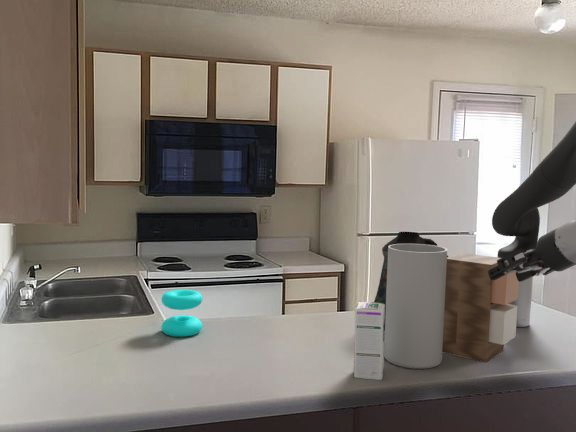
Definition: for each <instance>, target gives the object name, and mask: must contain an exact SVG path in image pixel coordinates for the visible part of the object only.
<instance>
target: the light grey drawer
mask: <svg viewBox="0 0 576 432" xmlns="http://www.w3.org/2000/svg"><path fill="white" fill-rule="evenodd" d="M516 321H517V306H516V305H510V304H506V305H502V304H499V305H496V306H494V307H492V308H490V326H489V342H492V343H497V344H501V345H503V344H504V345H505V344H506V343H508V342H510V341H511V340H512V339H514V338H516V337H517V336H516V335H517V333H516V332H517V327H516Z"/></svg>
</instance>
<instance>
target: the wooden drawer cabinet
mask: <svg viewBox="0 0 576 432" xmlns="http://www.w3.org/2000/svg"><path fill="white" fill-rule="evenodd" d="M499 259H501V258H498V256H489V255H481V254H473V253H467V252H466V253H465V252H462V253H458V254H455V255H451V256H448V257H447V265H446V286H445V306H444V326H443V346H442V353H445V354H449V355H452V356H457V357H460V358H465V359H468V360H473V361H476V362H477V361H478V362H481V363H488V362H489V361H491V360H492V359H494V358H495V357H497V356H498V355H500V354H501V353H502V352H504V350H505V349H504V347H505V344H503V345H501V344H497V343H492V342H489V326H490V308H492V307H494V306H496V305H499V304H496V303H491V291H492V280H491V279H490V277H489V274H488V271H489V270H490V269H492V268H494V267H496V266H498V263H497V260H499ZM508 265H509V264H508Z"/></svg>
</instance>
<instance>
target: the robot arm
mask: <svg viewBox="0 0 576 432" xmlns="http://www.w3.org/2000/svg"><path fill="white" fill-rule="evenodd" d="M575 185H576V121H575V122H574V123H573V125H572V126H571V127H570V129H569V130H568V131H567V132H566V133H565V135H564V136H563V137H562V139H561V140H560V141H559V142H558V143H557V144H556V146H555V147H554V148H553V149H552V150H551V151H550V152H549V153H548V154H547V155H546V156H545V157H544V158H543V159H542V161H541V162H540V163H539V164H538V165H537V166H536V167H535V168H534V169H533V171H532V172H531V173H530V175H528V176H527V178H526V179H524V181H523V182H522V183H521V184H520V185H519V186H518V187H517V188H516V189H514V191H512V193H510V195H508V196H507V197H506V198H505V199H503V200H502V201H501V202H499V204H498V205H497V207H495V209H494V212H493V213H492V216H491V226H492V228H493V230H494V232H495V233H496V234H498V235H501V236H503V237H514V240H513V241H512V242H511V243H509V244H508V245H506V246H504V247H501V248H499V249H498V251H497V257H498V258H501V259H499V260H497V263H498V266H496V267H494V268H492V269H490V270H489V271H488V274H489V277H490V279H491V280H496V279H498V278H500V277H502V276H504V275H507V274H509V273H513V272H516V277H517V280H518V281H519V289H518V299H517V300H515V301H513V302H511V303H509V304H510V305H516V306H517V321H516V328H522V327H523V328H524V327H528V326H530V321H531V308H532V295H533V294H532V293H533V281H534V280H533V279H534V277H540V276H541V275H542V276H548V275H549V274H552V273H553V272H563V271H565V270H568V269H570V268H572V267H574V266H576V219H573V220H570V221H568V222H566V223H565V224H562V225H561V226H559V227H557V228H555V229H552V230H551V231H549V232H547V233H545V234H543V235H541V236H540V237H539V235H540V234H539V233H540V223H541V222H540V221H541V216H540V211H539V209H538V208H540V207H542V206H545V205H547V204H550V203H553V202H554V201H556V200H558V199H560V198H561V197H563V196H564V195H566V194H567V193H568V192H569V191H570V190H572V188H573V187H575ZM508 264H509V265H508Z"/></svg>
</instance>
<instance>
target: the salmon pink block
mask: <svg viewBox="0 0 576 432" xmlns="http://www.w3.org/2000/svg"><path fill="white" fill-rule="evenodd" d="M518 289H519V281H518V280H517V277H516V272H513V273H509V274H507V275H504V276H502V277H500V278H498V279H496V280H492V291H491V303H496V304H502V305H506V304H509V303H511V302H513V301H515V300H517V299H518Z"/></svg>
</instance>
